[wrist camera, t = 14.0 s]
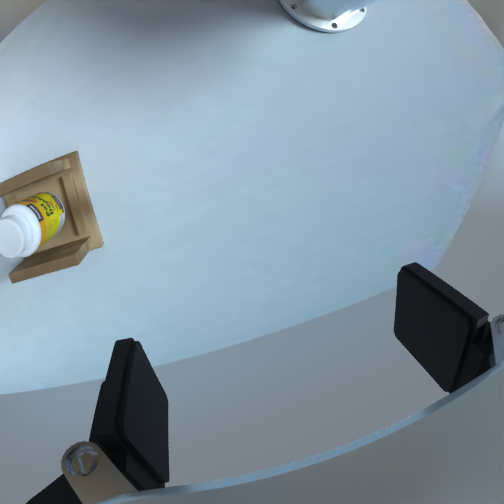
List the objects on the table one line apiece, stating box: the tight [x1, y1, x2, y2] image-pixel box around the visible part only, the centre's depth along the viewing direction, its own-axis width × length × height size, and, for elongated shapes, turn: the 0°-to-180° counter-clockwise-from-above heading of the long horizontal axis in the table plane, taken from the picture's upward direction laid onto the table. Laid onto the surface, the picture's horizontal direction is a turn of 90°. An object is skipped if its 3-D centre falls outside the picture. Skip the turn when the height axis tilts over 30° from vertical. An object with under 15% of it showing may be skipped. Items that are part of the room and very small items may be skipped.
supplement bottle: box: [0, 192, 65, 258], centre depth 27 cm, size 6×6×10 cm
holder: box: [0, 151, 104, 284], centre depth 30 cm, size 12×12×7 cm
